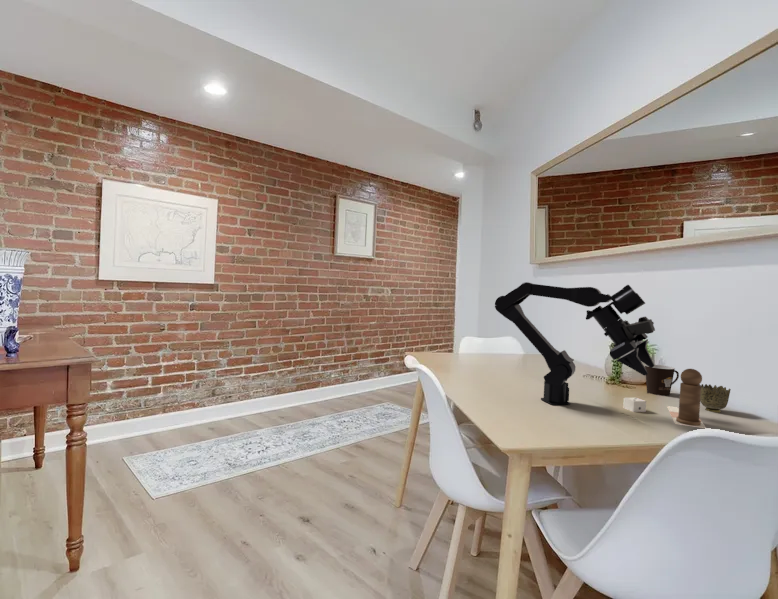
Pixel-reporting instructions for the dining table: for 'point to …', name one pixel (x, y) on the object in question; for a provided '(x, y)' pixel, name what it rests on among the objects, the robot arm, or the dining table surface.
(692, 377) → the pawn
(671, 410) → the board
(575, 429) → the dining table surface
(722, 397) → the cup
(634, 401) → the die
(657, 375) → the coffee mug
